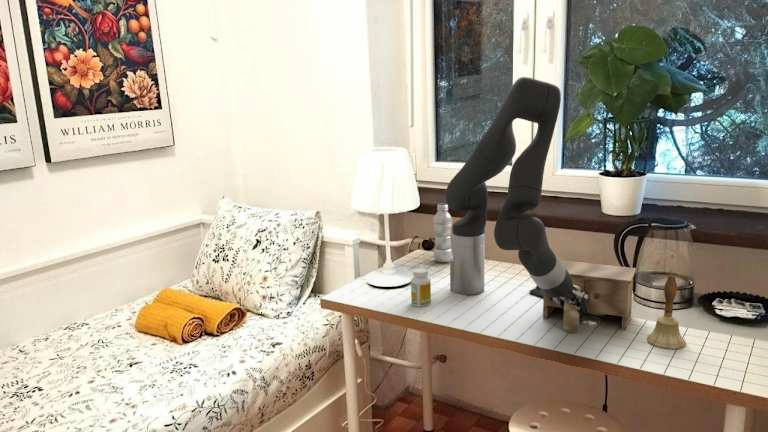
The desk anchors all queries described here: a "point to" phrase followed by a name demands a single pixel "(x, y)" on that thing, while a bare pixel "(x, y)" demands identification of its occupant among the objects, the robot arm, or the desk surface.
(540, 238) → the robot arm
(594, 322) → the token
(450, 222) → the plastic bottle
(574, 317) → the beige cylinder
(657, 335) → the hand bell
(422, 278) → the supplement bottle
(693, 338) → the desk surface
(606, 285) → the cabinet
